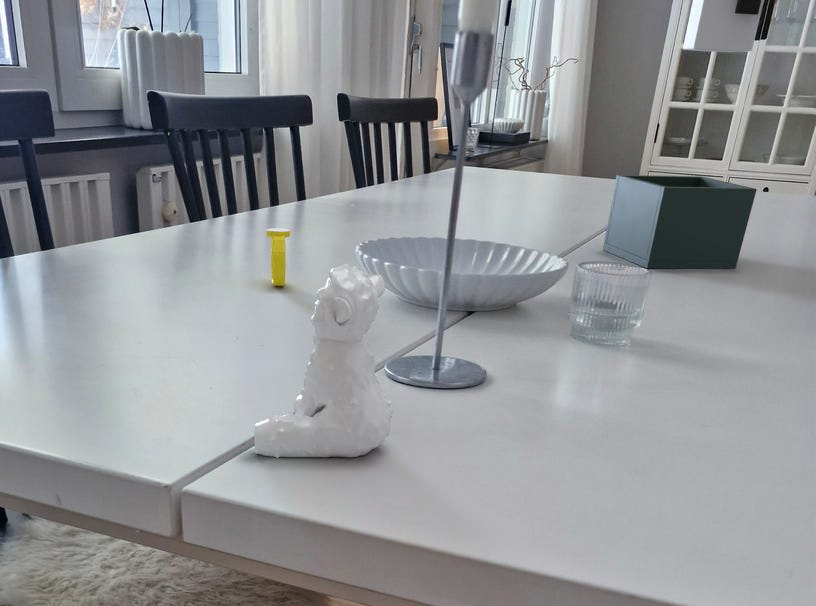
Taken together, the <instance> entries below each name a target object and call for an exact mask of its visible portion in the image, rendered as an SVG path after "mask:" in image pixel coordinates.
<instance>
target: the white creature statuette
mask: <svg viewBox="0 0 816 606" xmlns="http://www.w3.org/2000/svg"><path fill="white" fill-rule="evenodd" d="M327 276H328V278H327V281H326V284H325V286H324V287H321V288H319V289H317V291H316V292H315V294H316V297H317V301H315V303H314V305H315V307H314V308H313V314H312V315H311V317H310V322H311V325H312V326H313V327H314V332H315V335H314V336H313V338H312V340H313V345H314V346H313V347H314V350H313V351H312V352H311V353H310V356H309V359H308V363H307V365H306V370H305V373H304V374H305V378H304V379H303V383H302V384H303V385H302V389H301V390H300V395H299V396H297V397H296V398H295V401H294V403H293V411H294V413H291V412H290V413H289V412H288V413H287V414H284V415H277V414H271V415H270V416H269V418H268V419H266V420H262V421H260V422H258V423H255V424H254V430H253V431H254V433H253V434H254V436H253V437H254V442H253V443H254V454H255V455H261V456H265V457H274V458H276V459H279V458H280V457H281V458H283V457H285V458H330V457H334V458H357V457H360V456H364V455H366V454H369V453H370V452H371V451H372V450H373V449H376V448H377V447H379V446H380V445H382V444H383V443H385V439H386V438H387V437H389V435H390V434H391V422H392V417H393V416H392V414H393V412H394V410H393V408H392V407H391V405H392V401H391V400H390V399H388V398H387V397H386V394H385V391H384V390H383V389H382V387H381V385H380V382H379V380H378V378H377V376H376V368H377V363H376V362H375V354H374V352H373V350H372V349H371V344H370V343H369V342H368V341H367V339H366V338H365V337H364V335H366V334H367V333H368V331H369V329H370V328H371V326H372V324H373V323H374V322H375V320H376V317H377V314H378V311H379V298H381V297H382V296H383V295H384V293H385V291H386V285H385V279H384V277H383V276H382V275H381V274H374V275H371V276H369V274H368V273H366V272H364V271H362V270H360V269H359V268H358V267H357V266H355V265H353V266H351V265H350V264H349V263H344V264H343V265H341V266H336V267H333V268H331V270H330V272H329V273H328V275H327Z"/></svg>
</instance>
